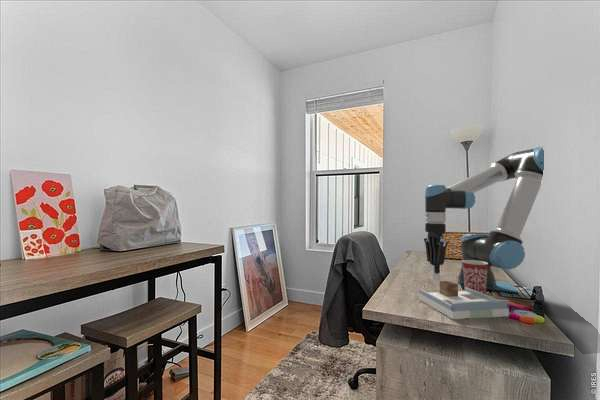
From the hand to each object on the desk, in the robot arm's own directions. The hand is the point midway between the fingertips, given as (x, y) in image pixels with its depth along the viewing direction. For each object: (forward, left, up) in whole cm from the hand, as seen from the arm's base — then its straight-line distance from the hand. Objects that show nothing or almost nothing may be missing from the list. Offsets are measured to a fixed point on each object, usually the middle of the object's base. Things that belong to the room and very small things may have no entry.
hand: (435, 280), depth 119 cm
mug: (-16, +2, -6) cm, 17 cm away
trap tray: (0, +15, -6) cm, 16 cm away
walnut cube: (0, +8, -3) cm, 9 cm away
